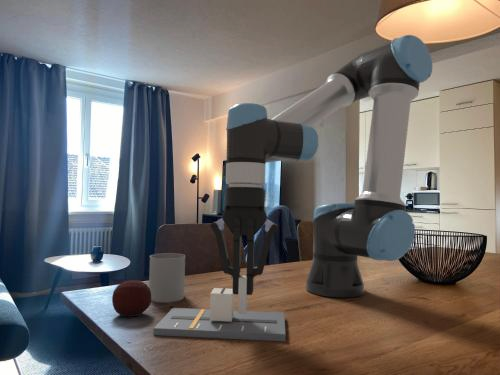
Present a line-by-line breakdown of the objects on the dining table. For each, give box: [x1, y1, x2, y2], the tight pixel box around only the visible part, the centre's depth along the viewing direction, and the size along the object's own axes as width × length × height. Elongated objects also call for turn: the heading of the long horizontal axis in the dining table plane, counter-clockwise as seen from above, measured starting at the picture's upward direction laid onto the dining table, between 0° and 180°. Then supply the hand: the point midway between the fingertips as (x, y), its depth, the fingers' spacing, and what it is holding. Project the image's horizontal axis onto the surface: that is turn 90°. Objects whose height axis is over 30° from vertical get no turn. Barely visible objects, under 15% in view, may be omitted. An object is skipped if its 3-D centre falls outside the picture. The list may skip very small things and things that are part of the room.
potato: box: [111, 279, 152, 317], centre depth 75 cm, size 7×8×7 cm
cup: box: [148, 252, 186, 303], centre depth 89 cm, size 8×8×10 cm
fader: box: [209, 287, 235, 322], centre depth 70 cm, size 4×4×5 cm
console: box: [153, 307, 287, 342], centre depth 69 cm, size 23×12×1 cm, turn 86°
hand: (242, 311), depth 69 cm, fingers closed
